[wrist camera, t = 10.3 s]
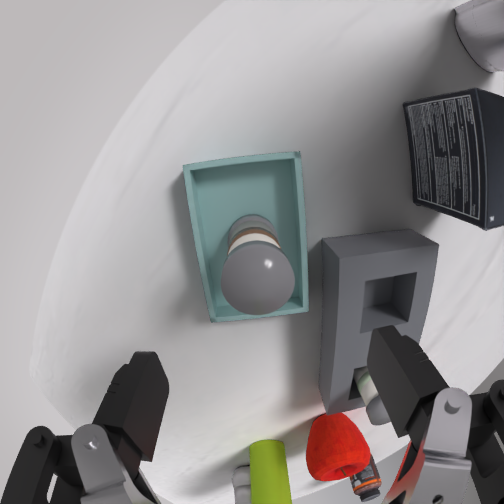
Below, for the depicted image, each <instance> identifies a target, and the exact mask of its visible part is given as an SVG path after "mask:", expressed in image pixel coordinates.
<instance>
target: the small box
mask: <svg viewBox="0 0 504 504" xmlns="http://www.w3.org/2000/svg"><path fill="white" fill-rule="evenodd" d="M403 106H404V112H405V118H406V124H407V131H408V138H409V147H410V156H411V167H412V181H413V202H414V203H415V204H416V205H417V206H424V207H427V208H430V209H433V210H436V211H438V212H441V213H444V214H447V215H450V216H452V217H455V218H458V219H460V220H463V221H466V222H468V223H471V224H473V225H476V226H478V227H480V228H481V229H483V230H486V231H487V230H490V229H493V228H497V227H501V226H504V97H502V96H500V95H497V94H494V93H491V92H488V91H485V90H482V89H478V88H472V89H468V90H465V91H460V92H454V93H450V94H449V93H448V94H442V95H438V96H433V97H429V98H424V99H419V100H416V101H411V102H404V103H403Z"/></svg>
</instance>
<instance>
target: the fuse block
mask: <svg viewBox="0 0 504 504" xmlns="http://www.w3.org/2000/svg"><path fill="white" fill-rule="evenodd" d="M438 248H439V244H437V243H436V242H434V241H432V240H430V239H428V238H427V237H425V236H423V235H421V234H419V233H417V232H415V231H414V230H412V229H406V230H397V231H387V232H378V233H369V234H360V235H350V236H341V237H332V238H323V239H322V261H323V301H322V338H321V358H320V374H319V390H320V393H321V397H322V400H323V403H324V407H325V410H326V414H327V415H332V414H337V413H341V412H345V411H349V410H353V409H357V408H361V407H365V406H366V412H367V415H368V417H369V420H370V422H371V424H373V425H382V424H386V423H388V422H391V420H390V418H389V416H388V413H387V411H386V409H385V407H384V405H383V402H382V400H381V398H380V396H379V394H378V392H377V389H376V387H375V385H374V383H373V381H372V379H371V377H370V375H369V372H368V368H367V356H368V351H369V346H370V340H371V334H372V331H373V329H375V328H380V327H384V326H389V325H393V326H395V328H396V329H397V330H398V332H399V333H400V334H401V336H403V335H407V336H409V337H410V338H412V339H413V340H415V341H416V342H417V343H418V344H419V342H420V338H421V335H422V331H423V327H424V323H425V319H426V315H427V311H428V307H429V302H430V297H431V292H432V287H433V282H434V276H435V270H436V263H437V256H438Z"/></svg>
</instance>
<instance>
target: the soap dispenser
mask: <svg viewBox="0 0 504 504" xmlns="http://www.w3.org/2000/svg"><path fill="white" fill-rule="evenodd" d="M249 451H250V478H251V503H252V504H292V500H291V492H290V485H289V477H288V470H287V462H286V455H285V447H284V444H283V443H282V442H280V441H277V440H262V441H258V442H255V443H253V444H252V445H251V446H250V448H249Z"/></svg>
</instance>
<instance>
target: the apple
mask: <svg viewBox="0 0 504 504" xmlns="http://www.w3.org/2000/svg"><path fill="white" fill-rule="evenodd" d="M369 460H370V449H369V446H368V444H367V442H366V440H365V439H364V437H363V435H362V433H361V432H360V430H359V429H358V427H357V426H356V425H355V424H354V423H353V422H352V421H351V420H350V419H349V418H348V417H347V416H346V415H344V414H343V413H337V414H332V415H327V414H324V415H321V416H320V417H318V418H317V419H316V420H315V421H314V422H313V424H312V427H311V430H310V434H309V438H308V444H307V450H306V462H307V467H308V470H309V473H310V474H311V476H312V477H313V478H314V479H315V480H320V481H333V480H340V479H343V478H346V477H349V476H352V475H354V474H357V473H359V472H361V471H362V470H363V469H364V468H366V466H367V465H368V464H369Z"/></svg>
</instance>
